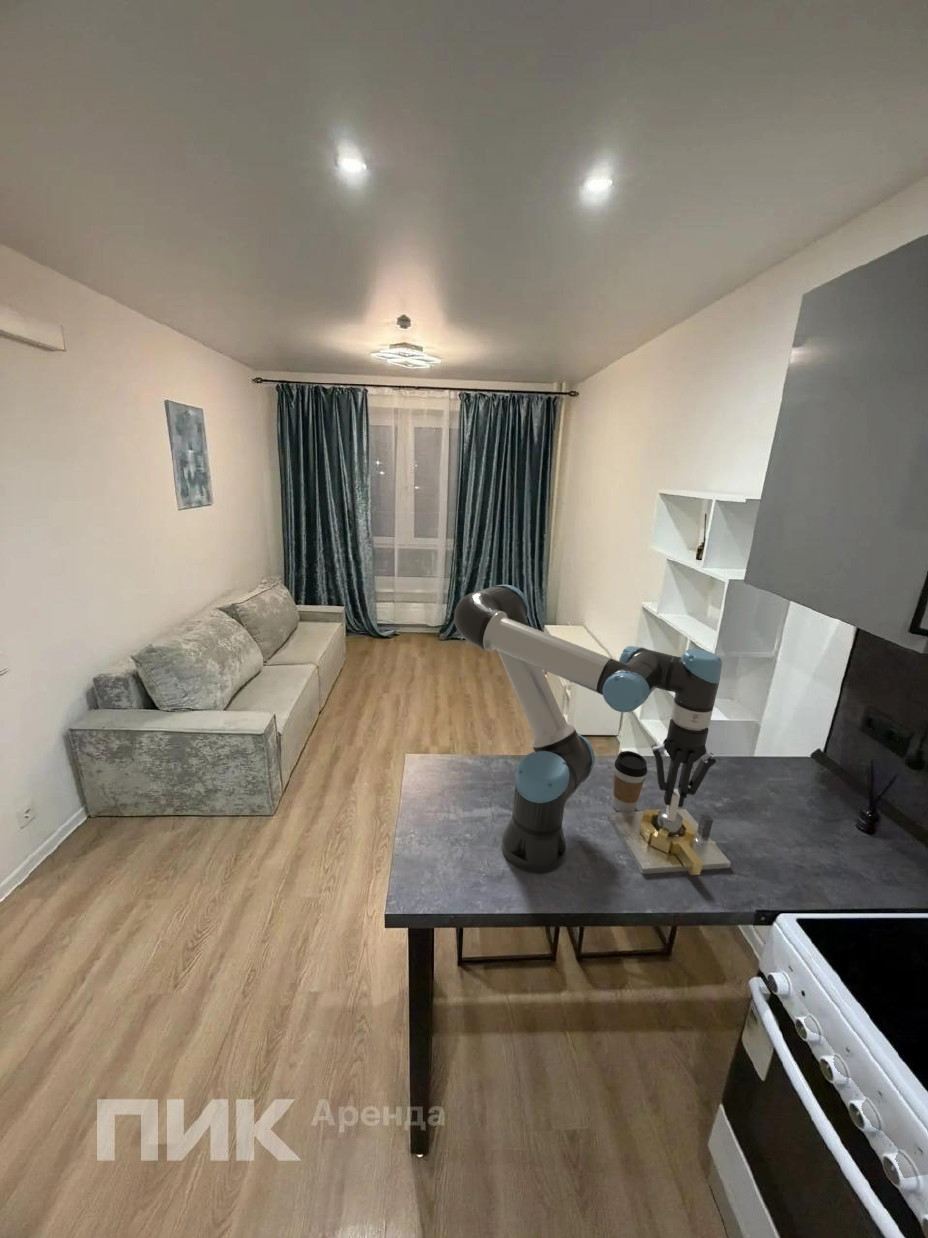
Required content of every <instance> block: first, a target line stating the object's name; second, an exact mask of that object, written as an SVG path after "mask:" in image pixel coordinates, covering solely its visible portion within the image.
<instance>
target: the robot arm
mask: <svg viewBox="0 0 928 1238" xmlns="http://www.w3.org/2000/svg"><path fill="white" fill-rule="evenodd" d="M529 612H530V605H529V600H528V599H527V597H526V595H525V594H524V593H523V592H522V591H521V590H520V589H519V588H517V587H516V586H513V585H509V584H497V585H495V584H494V585H493V586H490V587H487V588H484V589H482V590H478V591H475V592H471V593H468V594H467V595H464V597H462V598H461V599H460V600H459V601H458V603H457V604H456V607H455V609H454V616H453V619H454V620H453V621H454V625H455V629H456V630H457V631H458V633H459V634H460V636H461V637H462V638H463V639H465V640H466V641H467V642H469V643H470V644H472V645H474V646H475V647H478V648H480V649H482V650H485V651H487V652H493V651H495V650H496V651H497V653H498V657H499V658H500V660H501V662H502V665H503V667H504V669H505V672H506V674H507V677H508V679H509V682H510V683H511V686H512V687H513V690H514V691H515V692H514V693H515V695H516V697H517V699H518V702H519V704H520V706H521V708H522V711H523V713H524V716H525V717H526V719H527V722H528V724H529V726H530V729H531V731H532V733H533V736H534V737H533V740H532V743H531V746H532V748H533V751H532V752H529V753H527V754H526V755H524V756H523V757H522V758H521V759H520V761H519V763H518V765H517V769H516V773H515V777H514V784H515V785H514V791H513V804H512V811H511V812H512V814H511V817H510V819H509V821H508V823H507V825H506V827H505V829H504V831H503V833H502V837H501V838H502V840H501V849H502V853H503V855H504V857H505V858H506V859H507V860H508V861H509V862H510V863H511V865H513V866H515V867H516V868H518V869H519V870H522V871H524V872H525V871H526V872H527V873H534V874H546V873H551V872H553V871H556V870H557V869H559V868H560V867H561V866H562V865H563V863H564V862H565V860H566V854H567V853H566V852H567V842H566V839H565V835H564V830H563V819H564V812H565V807H566V803H567V802H568V801H569V799H570V798H571V797H572V796H573V795H574V793H575V792H576V791H577V790H578V788H580V786H581V785H582V784H583V783H584V782H585V781H586V780H587V779H588V778H589V776H590V774H591V773H592V771H593V768H594V765H595V761H596V756H595V752H594V749H593V746H592V744H591V743H590V741H589V740H588V739H587V738H586V737H584V736H582V735H581V734H580V733H579V732H577V730H576V728H575V726H574V725H571V724H568V723H567V722H566V720H565V718H564V716H563V713H562V711H561V708H560V707H559V704H558V701H557V700H556V698H555V694H554V693H553V690H552V688H551V686H550V683H549V681H548V679H547V677H546V674H545V672H548V673H550V674H552V675H555V676H557V677H559V678H562V679H565V680H567V681H569V682H572V683H573V684H576V685H579V686H581V687H583V688H586V689H588V690H590V691H593V692H595V693H597V694H600V695H601V696H603V699H604V701H605V703H606V704H607V705H608V706H609V707H610V708H611V709H612V710H614V711H617V712H619V713H630V712H632V711H635V710H636V709H638V708H639V707H641V706H642V705H643V704H644V703H645V702H646V701H647V700H648V698H649V697H650V695H651V693H652V692H654V690H656V689H659V690H662V691H667V692H672V693H674V699H673V704H672V708H671V714H670V717H671V718H670V720H669V724H668V729H667V735H666V738H665V739H664V740H663V742H662V744H658V745H657V744H652V745H651V751H652V753H653V755H654V757H655V766H656V767H655V769H656V775H657V776H656V777H657V782H658V783H657V784H658V787H659V790H661V791H664V794H663V795H664V796H663V801H664V805H665V806H666V808H665V809H666V815H667V819H668V820H670V821H675V818H676V814H677V809H679V808H683V806H684V803H685V802H684V801H685V799H686V798H687V797H688V795H690V796H695V794H696V793H697V792H698V789H699V788H700V785H702V782H703V780H704V778H705V777H706V775H707V773H708V771H709V769H710V768H711V767H712V766H713V765H714V764H716V763H717V759H716V758H715V756H714V754H713V752H709V751H707V748H706V743H707V739H708V735H709V734H708V733H709V727H710V724H711V720H712V715H713V710H714V707H715V706H714V705H715V702H716V697H717V693H718V690H719V689H718V688H719V685H720V680H721V673H722V666H723V662H722V661H723V660H722V659H721V657H720V656H719V655H717V654H716V653H714V652H711V651H708V650H703V649H695V648H690V649H686V650H684V652H683V653H682V655H681V656H675V655H673V654H668V653H664V652H660V651H656V650H652V649H648V648H645V647H641V646H633V645H629V646H626V647H625V648H624V649H623V650H622V653H621V654H620V657H619V658H618V660H616V659H613V658H612V657H609V656H606V655H604V654H600V653H598V652H596V651H593V650H590V649H588V648H585V647H582V646H580V645H578V644H576V643H573V642H571V641H567V640H566V639H563V638H560V637H557V636H554V635H552V634H550V633H547V632H544V631H543V630H540V629H536V628H535V627H531V626H530V624H529V622H528V619H527V618H528V616H529ZM665 751H666V753H667V755H668V756H669V758H670V760H669V761H670V762H669V767H668V773H667V778H666V781H665V770H664V769H665V768H664V760H663V756H664V755H665ZM700 759H701V760H700ZM698 760H700V761H699V763H698V764H697V766H696V768H695V770H694V772H693V774H692V775H691V772H692V770H693V767H694V764H695V763H696V762H697V761H698ZM681 764H682V766H681ZM680 766H681V769H680V770H681V771H680V774H679V773H678V772H679V768H680ZM678 774H679V780H678V786H677V788H675V786H676V782H677V777H678ZM690 777H691V778H690Z"/></svg>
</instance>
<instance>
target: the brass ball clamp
mask: <svg viewBox="0 0 928 1238" xmlns="http://www.w3.org/2000/svg"><path fill="white" fill-rule="evenodd" d="M661 809H662V808H661ZM661 809H647V808H645V810H644V811H645V812H644V814H643V817H642V819H641V824H640V832H641V834H642V835H643V837H644V838H645V840H646V841H647V843H651V846H653V847H655V848H658V849H660V850H662V851H664V852H666V853H669V851H670V853H671V854H676V855H677V857H678V858H679V859H680V861H681V862H682V864H683V865H684V866H685V868H686V869H687V870H688V871H687V872H688V873H689V875H690V876H697V875H701V872H702V870H701V868H702V864H703V863H702V861H701V860H700V859H699V858H698V856H697V855H696V854H695V852H694V851H693V850H692V849H691V848H692V846H693V843H694V840H695V836H696V830H695V829H694V828H693V826H692V825H691V824H690V823H689V822H688V820H687V819H683V822H682V826H681V830H680V834H681V835H682V837H673V838H671V837H668V834H669V832H667V831H665V830H663V829H661V828H660V830H659V832H657V831H656V829H655V828H654V827H653V825H656V822H657V817H658V812H659V810H661ZM677 812H678V813H679V814H680V811H679V810H677ZM682 818H683V816H682Z"/></svg>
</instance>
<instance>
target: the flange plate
mask: <svg viewBox="0 0 928 1238" xmlns="http://www.w3.org/2000/svg"><path fill="white" fill-rule="evenodd" d="M677 810H679V811H680V814H679V813H678V812H677V814H676V818H675V821H670V820H668V819H667V815H666V808H661V810H659V812H658V817H657V822H656V825H653V827H654V828H655V829H656V831H657V832H659V830H660V828H661V829H663V830H665V831H667V832H669V834H668V837H671V838H673V837H682V835H681V834H680V830H681V826H682V822H683V819H687V820H688V822H689V823H690V824H691V825H692V826H693V828H694V829H695V830H696V836H695V840H694V843H693V846H692V848H691V849H692V850H693V851H694V852H695V854H696V855H697V856H698V858H699V859H700V860H701V861H702V863H703V864H702V868H701V871H703V870H704V871H707V870H720V869H721V870H722V869H730V868H731V864H732V862H731V861H730V860H729V859H728V858H727V856H726V855H725V854H724V852H722V851H721V849H720V848H719V847H718V846H717V843H716V841H714V840H713V839H711V838H710V835H711V830H712V826H713V822H714V819H713V818H712V817H711V816H710V815H709V814H701V815H700V817H699V821H698V822H697V820H695V818H694V817H693V816H692V815H691V814H690V813H689V812H688V810H687V809H686V808H682V809H681V808H680V809H679V808H678V809H677ZM644 812H645V810H641V811H639V810H638V811H634V812H619V811H617V812H616V811H615V812H608V814H607V818H608V820H609V822H610V823H611V825H612V827H613V829H614V831H615V832H616V834H617V835H618V837H619V839H620V840H621V842H622V843H623V845H624V846H625V848H626V850H627V852H628V853H629V855H630V857H631V858H632V860H633V861H634V863H635V865H636V867H637V868H638V870H639V871H640V873H641V874H642V875H646V874H647V875H648V874H659V873H660V874H661V873H662V874H663V873H678V872H688V870H687V869H686V868H685V866H684V865H683V864H682V862H681V861H680V859H679V858H678V857H677V855H676V854H671V853H670V851H669V853H666V852H664V851H662V850H660V849H658V848H655V847H653V846H651V843H647V841H646V840H645V838H644V837H643V835H642V834H641V832H640V824H641V819H642V817H643V814H644ZM682 816H683V818H682Z"/></svg>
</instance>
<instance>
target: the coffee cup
mask: <svg viewBox="0 0 928 1238" xmlns="http://www.w3.org/2000/svg"><path fill="white" fill-rule="evenodd" d="M647 765H648V764H647V760H646V759H645V758H644V757H643V756H642V755H641V754H640V753H637V752H636V751H630V750H622V751H621V752H619V753H618V754H617V758H616V759H615V761H614V767H615V770H614V775H613V793H612V807H613V808H614V810H616V811H617V812H635V810H636V807H637V803H638V800H639V797H640V794H641V791H642V788H643V785H644V782H645V776H646V775H647V774H648V767H647Z"/></svg>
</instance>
